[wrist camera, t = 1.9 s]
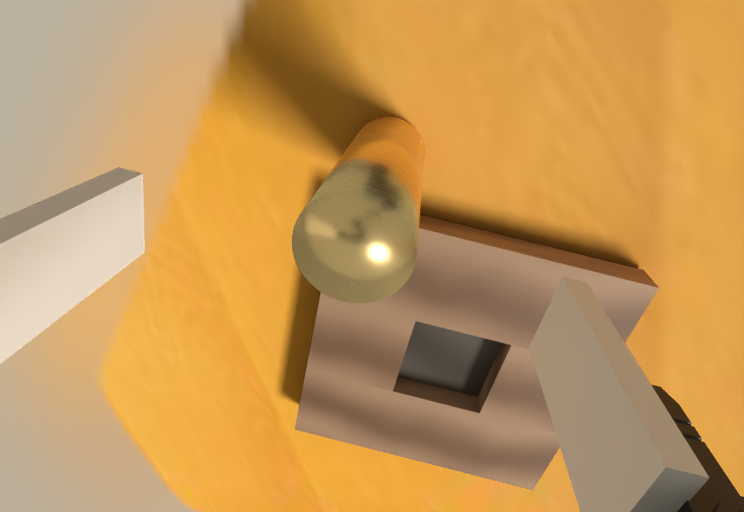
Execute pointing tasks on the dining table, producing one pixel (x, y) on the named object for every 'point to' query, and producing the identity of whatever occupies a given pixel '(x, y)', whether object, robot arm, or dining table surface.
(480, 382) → the board
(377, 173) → the pin
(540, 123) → the dining table surface
